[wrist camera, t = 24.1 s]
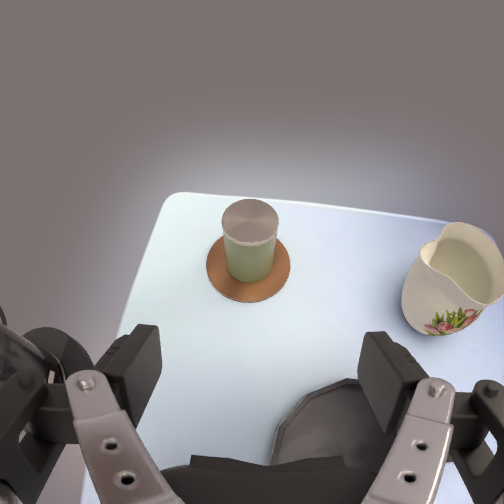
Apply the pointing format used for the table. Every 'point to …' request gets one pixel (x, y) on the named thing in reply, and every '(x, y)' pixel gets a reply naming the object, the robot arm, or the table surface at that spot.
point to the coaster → (240, 289)
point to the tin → (249, 239)
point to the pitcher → (452, 281)
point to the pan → (333, 429)
